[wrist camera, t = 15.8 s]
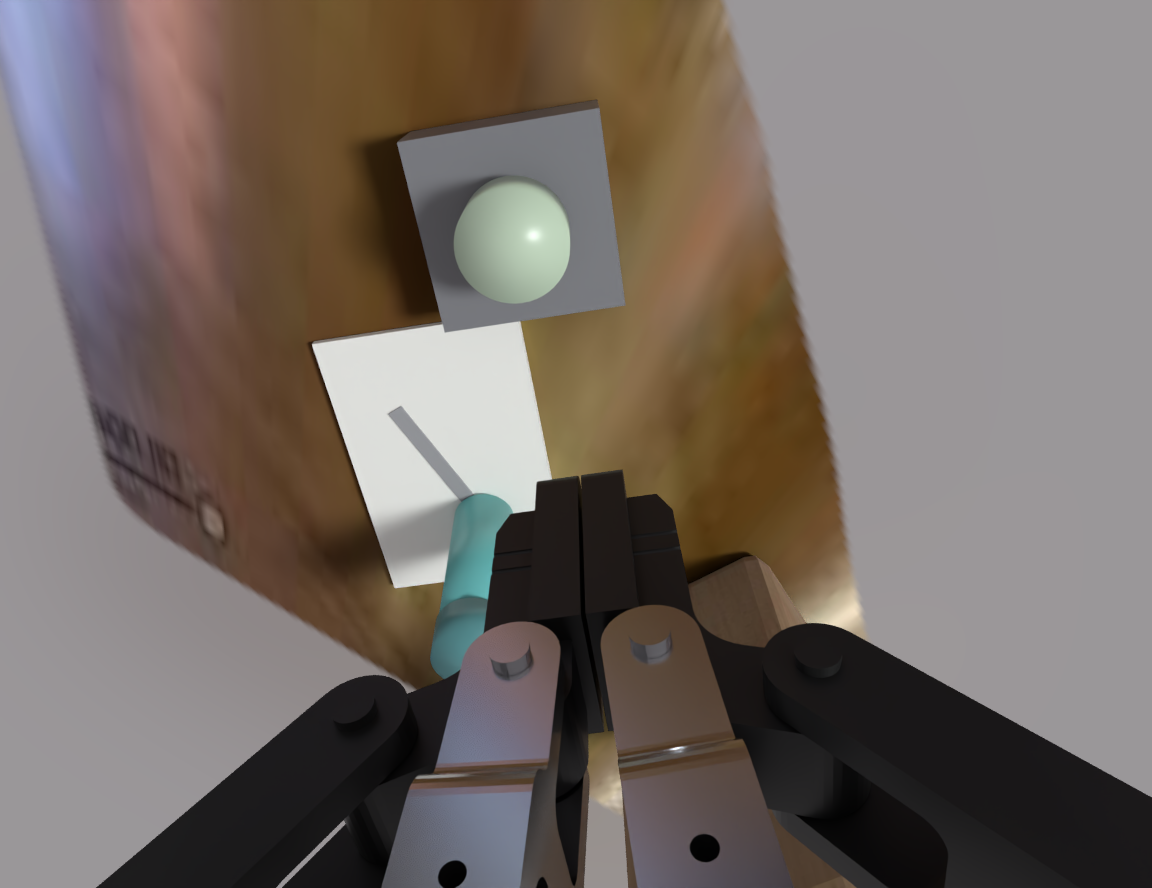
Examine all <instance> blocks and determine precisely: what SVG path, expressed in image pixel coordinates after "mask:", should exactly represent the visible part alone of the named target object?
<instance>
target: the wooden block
mask: <svg viewBox="0 0 1152 888" xmlns="http://www.w3.org/2000/svg"><path fill="white" fill-rule="evenodd" d="M688 587H689V592H690V597H691V602H692V607H693V611H694V614H695V616H696V618H697V620H698V621H699V623H700V624H701V625H702V626H703V627H704V628H705V629H706V630H707V631H709V632H710V633H712V634H713V635H715V636H717V637H719V638H721V639H723V640H726V641H729V642H732V643H736V644H742V645H748V646H756V647H764V648H765V646H766V644H767V643H768V641H769V640H770V639H771V638H772V637H773V636H774V635H775V634H777V633H778V632H780V631H782V630H784V629H786V628H788V627H791V626H795V625H799V624H806V622H805V620H804V619H803V617H802V616H801V614H800V613H799V611H798V610H797V608H796V607H795V605H794V604H793V602H792V601H791V599H790V598H789V596H788V595H787V593H786V591H785V590H784V588H783V587H782V585H781V584H780V582H779V581H778V579H777V578H776V576H775V575H774V573H773V572H772V570H771V569H770V567H769V566H768V565H767V564H766V563H764V562H763V561H762V560H760V559H759V558H757V557H756V556H749V557H743V558H741V559H739V560H737V561H735V562H733V563H731V564H729V565H727V566H725V567H723V568H721V569H719V570H717V571H715V572H713V573H711V574H709V575H707V576H705V577H702V578H700V579H698V580H696V581H694V582H692V583H690V584H688ZM622 797H623V792H622ZM623 812H624V827H625V843H626V858H627V873H628V888H638V887H637V881H636V874H635V868H634V862H633V855H632V849H631V843H630V836H629V830H628V824H627V817H626V811H625V805H624V798H623ZM768 812H769V815H770V818H771V821H772V824H773V827H774V830H775V833H776V836H777V839H778V842H779V845H780V848H781V851H782V854H783V857H784V860H785V863H786V866H787V869H788V871H789V874H790V877H791V880H792V883H793V886H794V888H856V887H855V886H854V885H853V884H851V883H850V882H849V881H848V880H847V879H845V878H844V877H843V876H842V875H840V874H839V873H838V872H837V871H835V870H834V869H833V868H832V867H830V866H829V865H828V864H827V863H826V862H824V861H823V860H822V859H821V858H819V857H818V856H817V855H816V854H814V853H813V852H812V851H811V850H810V849H808V848H807V847H806V846H805V845H803V844H802V843H801V842H800V841H798V840H797V839H796V838H795V837H794V836H792V835H791V834H790V833H789V832H787V831H786V830H785V829H784V828H783V827H782V826H781V825H780V823H779V822H778V821H777V819H776V818H775V816H774V814H773V812H772V810H771V809H768Z"/></svg>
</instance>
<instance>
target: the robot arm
mask: <svg viewBox="0 0 1152 888" xmlns="http://www.w3.org/2000/svg"><path fill="white" fill-rule="evenodd" d="M581 487H582V489H581ZM602 701H603V702H602ZM603 706H604V711H605V716H606V721H607V726H608V731H614V734H615V741H616V747H617V753H618V766H619V773H620V779H621V786H622V792H623V798H624V805H625V811H626V817H627V824H628V830H629V836H630V843H631V849H632V855H633V862H634V868H635V874H636V881H637V887H638V888H794V886H793V883H792V880H791V877H790V874H789V871H788V869H787V866H786V863H785V860H784V857H783V854H782V851H781V848H780V845H779V842H778V839H777V836H776V833H775V830H774V827H773V824H772V821H771V818H770V815H769V812H768V809H771V810H772V812H773V814H774V816H775V818H776V819H777V821H778V822H779V823H780V825H781V826H782V827H783V828H784V829H785V830H786V831H787V832H789V833H790V834H791V835H792V836H794V837H795V838H796V839H797V840H798V841H800V842H801V843H802V844H803V845H805V846H806V847H807V848H808V849H810V850H811V851H812V852H813V853H814V854H816V855H817V856H818V857H819V858H821V859H822V860H823V861H824V862H826V863H827V864H828V865H829V866H830V867H832V868H833V869H834V870H835V871H837V872H838V873H839V874H840V875H842V876H843V877H844V878H845V879H847V880H848V881H849V882H850V883H851V884H853V885H854V886H855V887H856V888H1152V797H1150V796H1148V795H1146V794H1144V793H1143V792H1141V791H1139V790H1137V789H1135V788H1133V787H1132V786H1130V785H1128V784H1126V783H1124V782H1123V781H1121V780H1119V779H1117V778H1115V777H1113V776H1112V775H1110V774H1108V773H1106V772H1104V771H1102V770H1101V769H1099V768H1097V767H1095V766H1093V765H1092V764H1090V763H1088V762H1086V761H1084V760H1082V759H1081V758H1079V757H1077V756H1075V755H1073V754H1071V753H1070V752H1068V751H1066V750H1064V749H1062V748H1060V747H1059V746H1057V745H1055V744H1053V743H1051V742H1049V741H1048V740H1046V739H1044V738H1042V737H1040V736H1039V735H1037V734H1035V733H1033V732H1031V731H1029V730H1028V729H1026V728H1024V727H1022V726H1020V725H1018V724H1017V723H1015V722H1013V721H1011V720H1009V719H1008V718H1006V717H1004V716H1002V715H1000V714H998V713H997V712H995V711H993V710H991V709H989V708H987V707H986V706H984V705H982V704H980V703H978V702H977V701H975V700H973V699H971V698H969V697H967V696H966V695H964V694H962V693H960V692H958V691H957V690H955V689H953V688H951V687H949V686H947V685H946V684H944V683H942V682H940V681H938V680H936V679H935V678H933V677H931V676H929V675H927V674H926V673H924V672H922V671H920V670H918V669H916V668H915V667H913V666H911V665H909V664H907V663H905V662H904V661H902V660H900V659H898V658H896V657H894V656H893V655H891V654H889V653H887V652H885V651H884V650H882V649H880V648H878V647H876V646H874V645H873V644H871V643H869V642H867V641H865V640H863V639H862V638H860V637H858V636H856V635H854V634H853V633H851V632H849V631H846V630H844V629H842V628H839V627H836V626H832V625H827V624H819V623H806V624H799V625H795V626H791V627H788V628H786V629H784V630H782V631H780V632H778V633H777V634H775V635H774V636H773V637H772V638H771V639H770V640H769V641H768V643H767V644H766V646H765V648H764V647H756V646H748V645H742V644H736V643H732V642H729V641H726V640H723V639H721V638H719V637H717V636H715V635H713V634H712V633H710V632H709V631H707V630H706V629H705V628H704V627H703V626H702V625H701V624H700V623H699V621H698V620H697V618H696V616H695V614H694V611H693V607H692V602H691V597H690V592H689V587H688V583H687V578H686V573H685V568H684V563H683V558H682V554H681V550H680V544H679V539H678V534H677V529H676V524H675V520H674V515H673V510H672V509H671V508H670V507H669V506H668V505H667V504H666V503H665V502H664V501H663V500H662V499H661V498H660V497H659V496H658V495H657V494H652V495H644V496H637V497H629V498H627V496H626V490H625V483H624V476H623V470H616V471H608V472H601V473H594V474H587V475H582V476H581V484H580V480H579V477H578V476H573V477H566V478H559V479H551V480H544V481H537V484H536V499H535V510H534V511H527V512H520V513H512V514H510V515H509V516H508V518H507V519H506V521H505V522H504V523H503V525H502V526H501V527H500V529H499V530H498V532H497V533H496V540H495V547H494V558H493V563H492V575H491V578H490V586H489V594H488V602H487V610H486V617H485V625H484V633H483V634H482V635H480V636H479V637H478V638H477V639H476V640H475V641H474V642H473V643H472V644H471V645H470V646H469V648H468V649H467V651H466V653H465V655H464V658H463V661H462V665H461V669H460V670H459V671H458V672H456V673H455V674H453V675H451V676H450V677H448V678H446V679H444V680H442V681H439V682H437V683H434V684H432V685H429V686H427V687H424V688H421V689H419V690H416V691H414V692H411V693H408V694H407V693H406V691H405V689H404V687H403V686H402V685H401V684H400V683H399V682H397V681H396V680H394V679H392V678H390V677H386V676H379V675H371V676H363V677H358V678H355V679H352V680H349V681H347V682H345V683H342V684H340V685H339V686H337V687H335V688H334V689H332V690H331V691H329V692H328V693H327V694H325V695H324V696H323V697H322V698H321V699H319V700H318V701H317V702H316V703H315V704H314V705H312V706H311V707H310V708H309V709H307V710H306V711H305V712H304V713H303V714H302V715H300V716H299V717H298V718H297V719H296V720H294V721H293V722H292V723H291V724H290V725H289V726H287V727H286V728H285V729H284V730H283V731H281V732H280V733H279V734H278V735H277V736H276V737H274V738H273V739H272V740H271V741H270V742H268V743H267V744H266V745H265V746H264V747H262V748H261V749H260V750H259V751H258V752H257V753H255V754H254V755H253V756H252V757H251V758H250V759H248V760H247V761H246V762H245V763H244V764H242V765H241V766H240V767H239V768H238V769H236V770H235V771H234V772H233V773H232V774H230V775H229V776H228V777H227V778H226V779H225V780H223V781H222V782H221V783H220V784H219V785H217V786H216V787H215V788H214V789H213V790H212V791H210V792H209V793H208V794H207V795H206V796H204V797H203V798H202V799H201V800H200V801H198V802H197V803H196V804H195V805H194V806H193V807H191V808H190V809H189V810H188V811H187V812H185V813H184V814H183V815H182V816H181V817H179V819H177V820H176V821H175V822H174V823H172V824H171V825H170V826H169V827H168V828H166V829H165V830H164V831H163V832H162V833H161V834H159V835H158V836H157V837H156V838H155V839H153V840H152V841H151V842H150V843H149V844H148V845H146V846H145V847H144V848H143V849H142V850H140V851H139V852H138V853H137V854H136V855H134V856H133V857H132V858H131V859H130V860H128V861H127V862H126V863H125V864H124V865H123V866H121V867H120V868H119V869H118V870H117V871H115V872H114V873H113V874H112V875H111V876H110V877H108V878H107V879H106V880H105V881H104V882H102V883H101V884H100V885H99V886H98V887H96V888H276V887H277V886H278V885H279V883H281V881H282V880H283V879H284V878H285V877H286V876H287V875H288V874H289V873H290V872H291V871H292V870H293V869H294V868H295V867H296V866H297V865H298V864H299V863H300V862H301V861H302V860H303V859H304V858H305V857H306V856H308V854H310V853H311V852H312V851H313V850H314V849H315V848H316V847H317V846H318V845H319V843H321V842H322V841H323V840H324V838H326V837H327V836H328V835H329V834H330V833H331V832H332V831H333V830H334V829H335V828H336V827H337V826H338V825H339V824H340V823H341V822H342V821H343V820H344V821H345V823H346V824H345V825H344V826H343V827H342V828H341V830H339V831H338V832H337V833H336V834H335V835H334V836H333V837H332V838H331V840H330V841H328V842H327V843H326V844H325V845H324V846H323V847H322V848H321V849H320V850H319V851H318V852H317V853H316V854H315V855H314V856H313V857H312V858H311V859H310V860H309V861H308V862H307V863H306V864H305V865H304V866H303V867H302V868H301V869H300V870H299V871H298V872H297V873H296V874H295V875H294V876H293V877H292V878H291V879H290V880H289V881H288V882H287V883H286V884H285V885H284V886H283V887H282V888H584V874H585V856H586V837H587V819H588V802H589V774H588V769H587V765H588V756H589V755H588V734H590V733H599V732H604V722H603Z"/></svg>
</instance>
